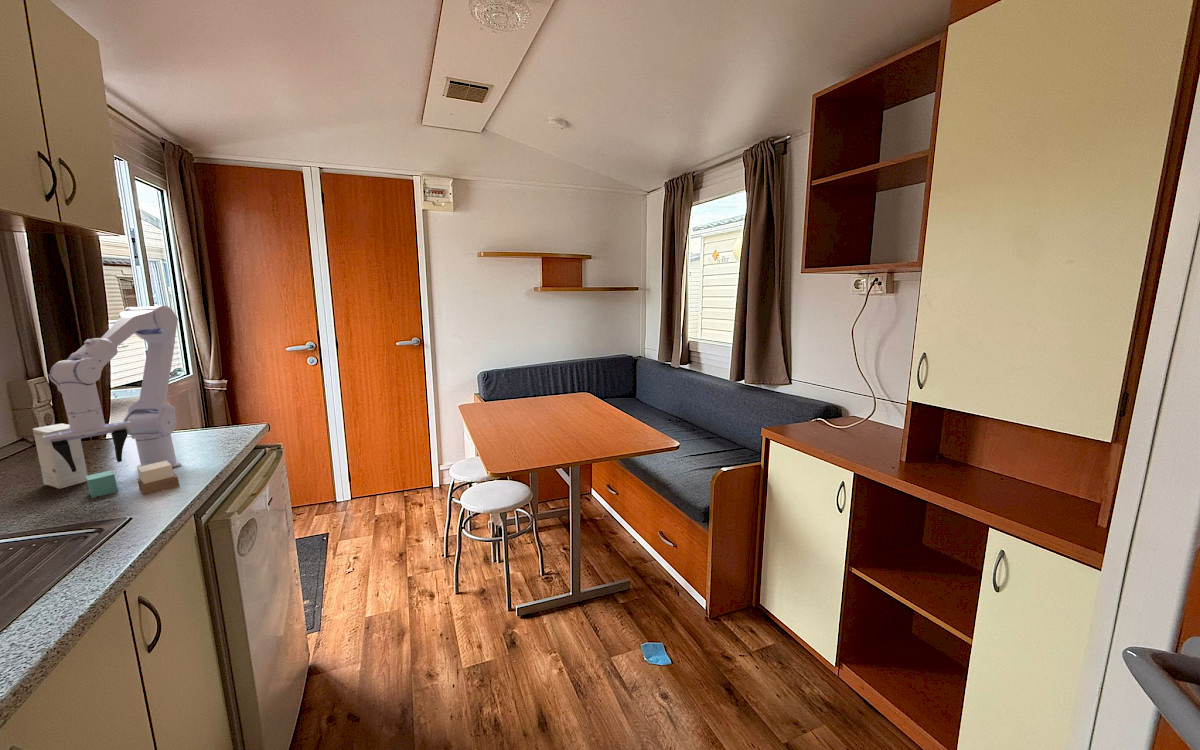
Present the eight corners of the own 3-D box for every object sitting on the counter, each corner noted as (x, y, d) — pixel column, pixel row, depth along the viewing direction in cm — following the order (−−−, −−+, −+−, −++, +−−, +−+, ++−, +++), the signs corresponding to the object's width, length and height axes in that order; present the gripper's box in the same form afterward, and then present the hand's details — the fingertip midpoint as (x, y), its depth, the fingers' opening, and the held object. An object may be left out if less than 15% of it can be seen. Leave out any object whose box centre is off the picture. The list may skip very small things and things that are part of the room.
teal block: (89, 493, 119) (85, 476, 118) (115, 487, 122) (111, 470, 121) (92, 498, 116) (87, 480, 115) (118, 491, 119) (114, 474, 119)
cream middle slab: (139, 478, 120) (136, 467, 119) (168, 471, 124) (166, 460, 124) (144, 484, 116) (141, 472, 116) (174, 476, 121) (171, 464, 120)
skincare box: (43, 485, 125) (28, 428, 122) (75, 476, 130) (62, 422, 128) (60, 489, 122) (45, 431, 119) (92, 480, 127) (78, 424, 124)
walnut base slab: (139, 490, 120) (137, 479, 120) (174, 481, 125) (171, 470, 125) (144, 497, 116) (142, 485, 116) (179, 487, 121) (177, 476, 121)
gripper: (38, 420, 107) (53, 479, 110) (129, 406, 118) (141, 460, 121) (37, 415, 112) (51, 472, 114) (124, 402, 123) (136, 454, 125)
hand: (97, 465), depth 118 cm, fingers open, 7 cm apart
